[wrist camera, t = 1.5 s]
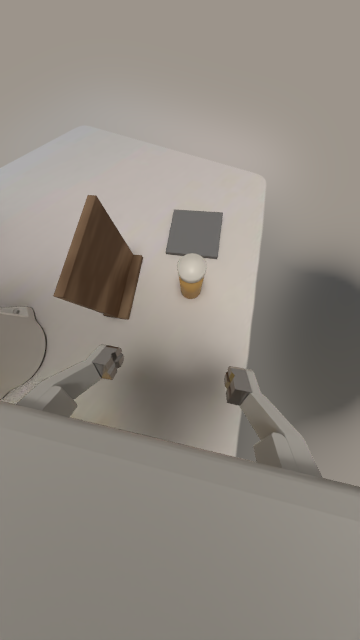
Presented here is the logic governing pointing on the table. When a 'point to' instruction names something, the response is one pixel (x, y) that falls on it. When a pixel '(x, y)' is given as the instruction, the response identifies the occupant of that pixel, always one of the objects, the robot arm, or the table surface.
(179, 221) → the mat
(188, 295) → the pill bottle
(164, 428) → the table surface
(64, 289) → the wooden stand
